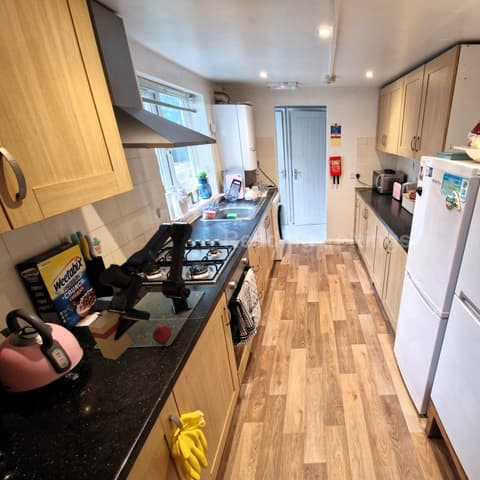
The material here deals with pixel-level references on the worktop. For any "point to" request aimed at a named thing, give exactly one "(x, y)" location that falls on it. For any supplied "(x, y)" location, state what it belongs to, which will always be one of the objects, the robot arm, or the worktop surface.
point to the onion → (161, 334)
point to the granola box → (109, 335)
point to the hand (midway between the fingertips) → (109, 339)
